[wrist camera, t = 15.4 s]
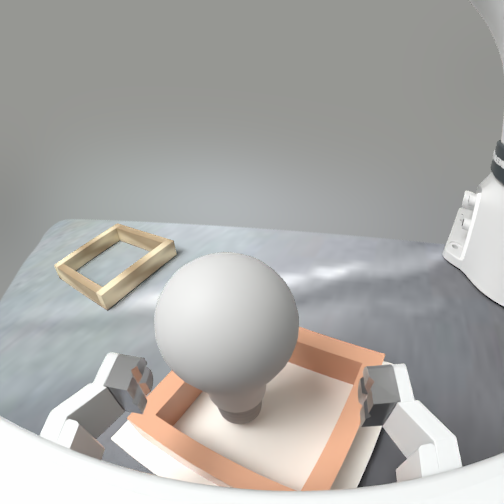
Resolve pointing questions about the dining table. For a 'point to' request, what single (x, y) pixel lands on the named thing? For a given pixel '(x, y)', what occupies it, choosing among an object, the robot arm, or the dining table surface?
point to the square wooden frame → (127, 279)
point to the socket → (264, 426)
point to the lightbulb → (227, 329)
